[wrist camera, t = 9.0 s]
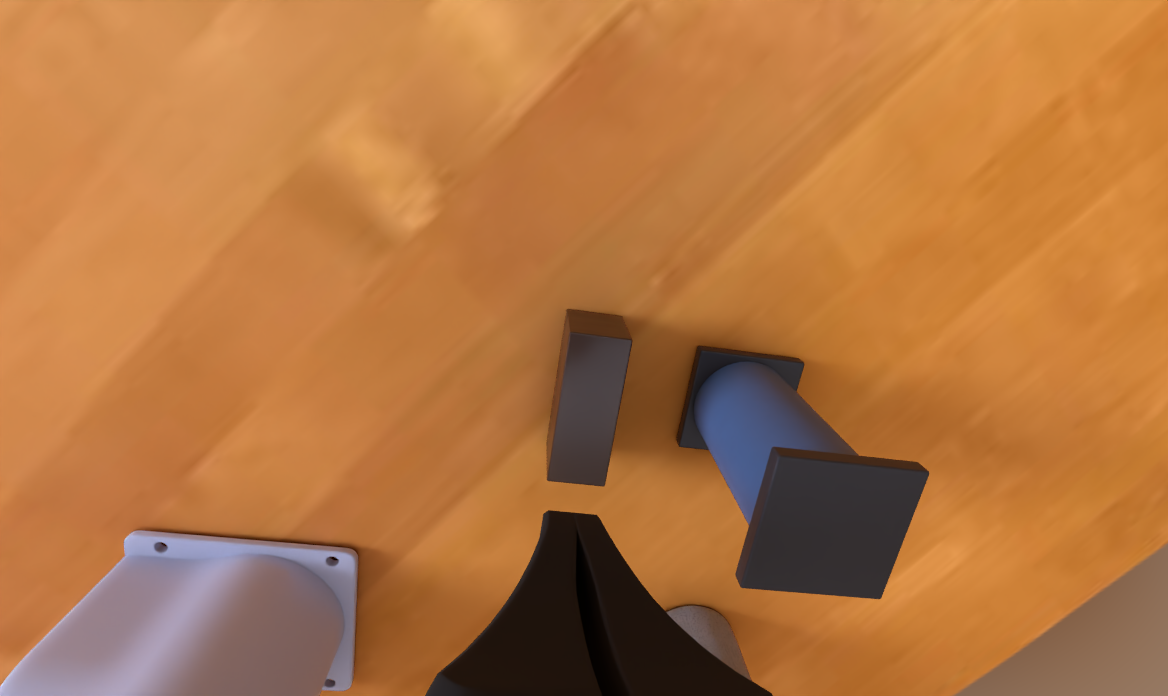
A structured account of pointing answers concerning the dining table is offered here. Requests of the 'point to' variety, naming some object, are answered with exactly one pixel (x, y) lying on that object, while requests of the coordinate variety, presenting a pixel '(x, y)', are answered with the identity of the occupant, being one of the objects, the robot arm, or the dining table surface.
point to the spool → (797, 479)
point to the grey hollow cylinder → (711, 634)
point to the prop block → (587, 397)
